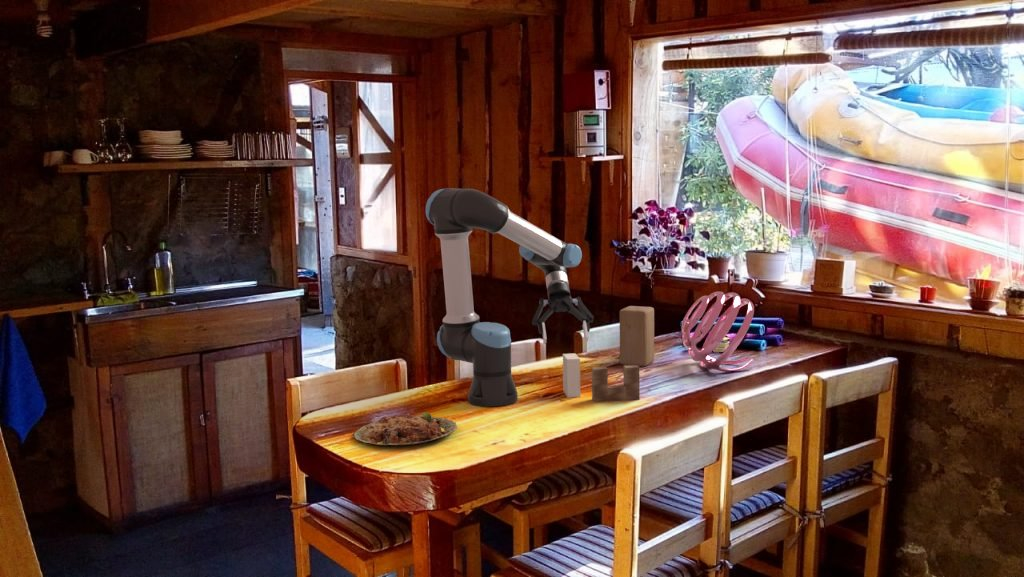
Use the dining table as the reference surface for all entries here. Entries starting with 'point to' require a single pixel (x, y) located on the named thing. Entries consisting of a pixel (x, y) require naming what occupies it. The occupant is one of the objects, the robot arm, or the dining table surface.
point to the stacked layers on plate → (722, 345)
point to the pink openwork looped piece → (715, 330)
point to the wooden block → (636, 335)
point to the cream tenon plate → (571, 375)
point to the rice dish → (405, 429)
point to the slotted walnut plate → (615, 391)
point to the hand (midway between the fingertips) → (566, 340)
